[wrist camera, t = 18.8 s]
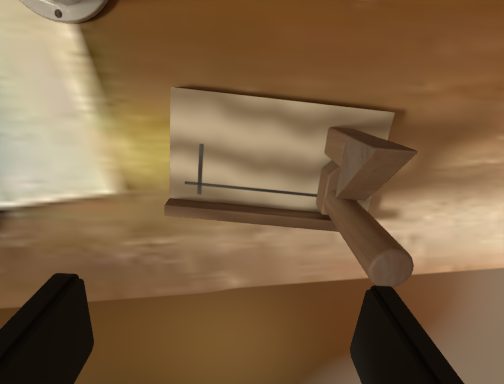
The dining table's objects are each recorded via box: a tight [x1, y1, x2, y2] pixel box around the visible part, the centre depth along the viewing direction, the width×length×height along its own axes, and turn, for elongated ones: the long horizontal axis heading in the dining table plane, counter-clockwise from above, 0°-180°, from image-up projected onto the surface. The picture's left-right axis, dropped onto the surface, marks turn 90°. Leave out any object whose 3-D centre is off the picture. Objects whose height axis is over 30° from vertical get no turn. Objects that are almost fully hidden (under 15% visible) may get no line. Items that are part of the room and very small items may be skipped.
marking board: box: [165, 87, 395, 232], centre depth 37 cm, size 16×28×4 cm, turn 84°
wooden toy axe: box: [316, 127, 417, 287], centre depth 29 cm, size 4×11×18 cm, turn 175°
